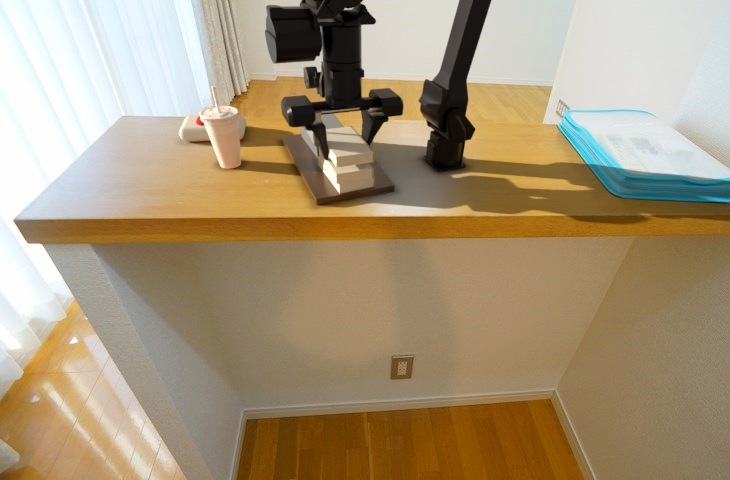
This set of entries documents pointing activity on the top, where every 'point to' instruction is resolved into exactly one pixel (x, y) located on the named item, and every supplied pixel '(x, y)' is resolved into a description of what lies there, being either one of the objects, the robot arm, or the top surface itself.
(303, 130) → the gray rectangular block
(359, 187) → the white book
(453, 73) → the robot arm
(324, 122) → the grey flat block
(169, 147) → the top surface
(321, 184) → the walnut board
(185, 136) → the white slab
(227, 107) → the smoothie
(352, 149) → the white book
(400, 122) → the top surface
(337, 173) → the white book
